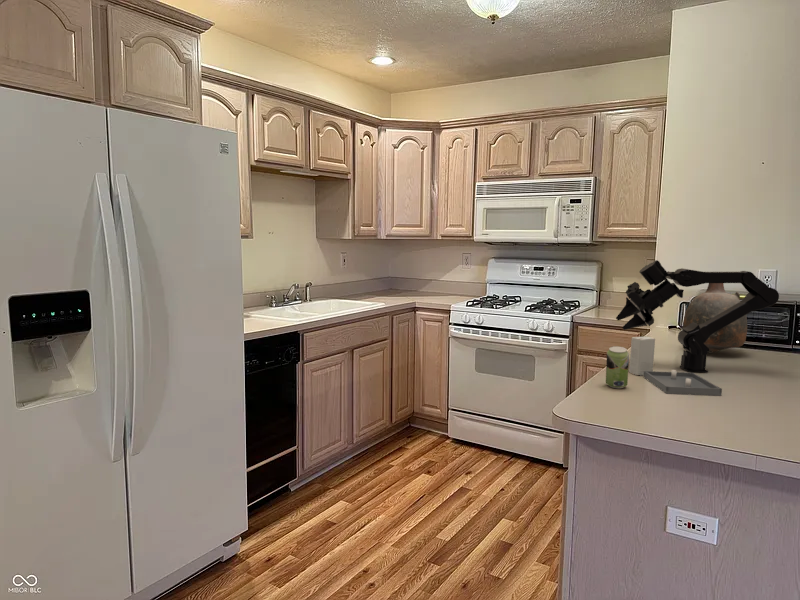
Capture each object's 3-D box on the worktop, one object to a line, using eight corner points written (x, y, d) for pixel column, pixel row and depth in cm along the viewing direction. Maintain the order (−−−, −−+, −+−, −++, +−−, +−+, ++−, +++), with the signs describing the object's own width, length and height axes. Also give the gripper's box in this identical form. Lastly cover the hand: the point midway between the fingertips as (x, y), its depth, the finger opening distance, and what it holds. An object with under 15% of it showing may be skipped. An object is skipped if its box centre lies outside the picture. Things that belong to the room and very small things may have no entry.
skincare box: (643, 371, 178) (645, 335, 177) (653, 375, 174) (656, 338, 173) (628, 372, 176) (630, 336, 175) (638, 376, 172) (640, 339, 171)
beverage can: (626, 384, 162) (629, 345, 161) (628, 391, 155) (631, 350, 154) (604, 382, 164) (606, 344, 163) (605, 389, 157) (607, 348, 156)
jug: (760, 360, 197) (768, 279, 194) (701, 359, 198) (708, 278, 194) (721, 346, 222) (728, 274, 218) (669, 345, 222) (674, 273, 218)
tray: (692, 378, 170) (693, 368, 170) (721, 395, 152) (722, 383, 152) (643, 377, 171) (644, 366, 171) (666, 393, 154) (667, 381, 153)
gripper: (648, 290, 193) (611, 317, 196) (637, 268, 179) (598, 297, 182) (669, 312, 186) (631, 339, 189) (660, 290, 172) (619, 320, 175)
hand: (620, 324), depth 184 cm, fingers open, 9 cm apart
